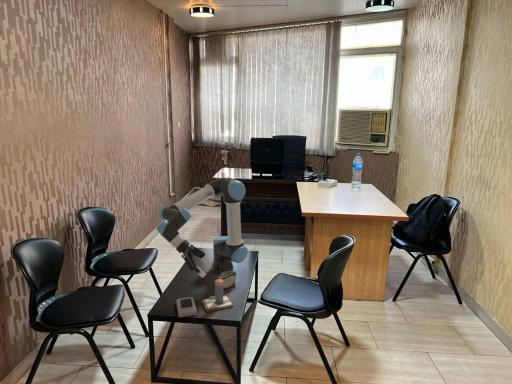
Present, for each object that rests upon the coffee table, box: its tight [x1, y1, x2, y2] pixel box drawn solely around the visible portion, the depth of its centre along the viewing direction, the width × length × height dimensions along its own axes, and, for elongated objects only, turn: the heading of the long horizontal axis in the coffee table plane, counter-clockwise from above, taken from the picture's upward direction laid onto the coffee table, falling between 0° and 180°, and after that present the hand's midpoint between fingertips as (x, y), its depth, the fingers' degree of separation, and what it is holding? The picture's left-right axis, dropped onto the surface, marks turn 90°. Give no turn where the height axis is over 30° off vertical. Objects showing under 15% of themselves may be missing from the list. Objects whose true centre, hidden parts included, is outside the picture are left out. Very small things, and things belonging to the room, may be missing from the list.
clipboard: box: [201, 294, 234, 313], centre depth 203 cm, size 12×15×2 cm
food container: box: [218, 270, 238, 294], centre depth 220 cm, size 12×6×10 cm, turn 134°
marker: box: [214, 278, 224, 304], centre depth 201 cm, size 5×5×13 cm
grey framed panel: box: [176, 296, 198, 318], centre depth 198 cm, size 10×4×15 cm
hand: (207, 270), depth 199 cm, fingers open, 13 cm apart
